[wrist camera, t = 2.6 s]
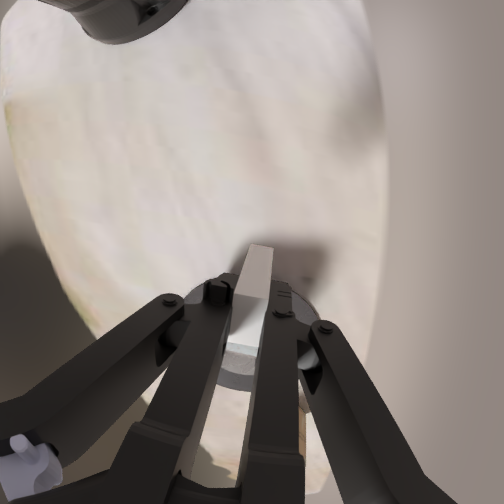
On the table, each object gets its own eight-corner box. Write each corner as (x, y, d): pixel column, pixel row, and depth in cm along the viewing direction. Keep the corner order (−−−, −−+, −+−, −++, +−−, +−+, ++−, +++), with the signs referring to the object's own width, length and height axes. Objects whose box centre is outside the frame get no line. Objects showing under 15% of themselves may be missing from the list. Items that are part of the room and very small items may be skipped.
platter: (173, 261, 31) (172, 262, 31) (341, 290, 30) (342, 292, 30) (175, 375, 39) (175, 376, 38) (300, 397, 38) (300, 399, 38)
